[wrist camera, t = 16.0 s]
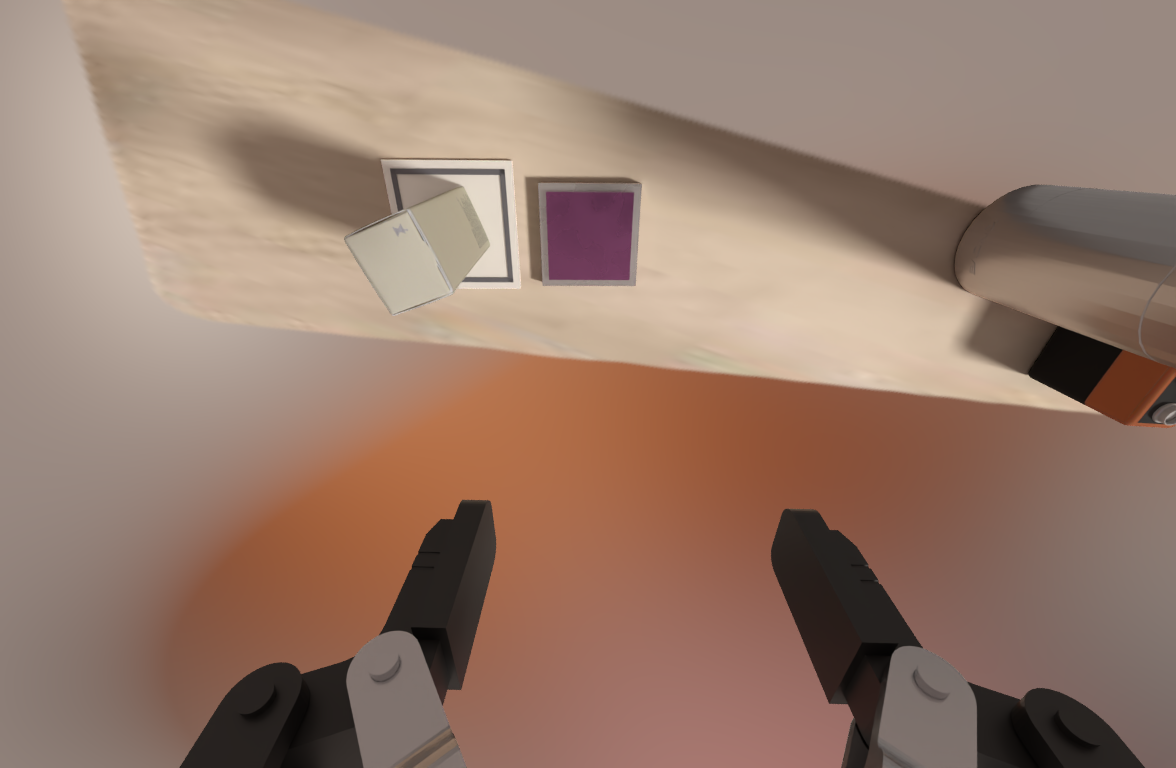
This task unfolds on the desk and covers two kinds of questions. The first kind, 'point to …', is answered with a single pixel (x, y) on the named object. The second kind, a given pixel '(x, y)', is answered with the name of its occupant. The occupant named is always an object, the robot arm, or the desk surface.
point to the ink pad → (589, 233)
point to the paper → (489, 197)
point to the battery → (1108, 379)
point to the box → (420, 250)
